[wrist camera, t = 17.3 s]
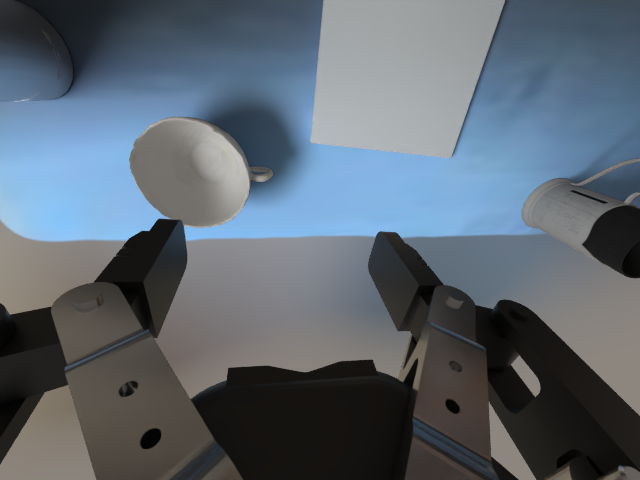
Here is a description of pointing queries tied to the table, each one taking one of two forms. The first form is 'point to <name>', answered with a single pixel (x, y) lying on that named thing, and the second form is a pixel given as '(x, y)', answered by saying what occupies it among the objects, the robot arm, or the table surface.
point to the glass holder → (589, 221)
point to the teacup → (193, 171)
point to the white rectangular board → (399, 72)
